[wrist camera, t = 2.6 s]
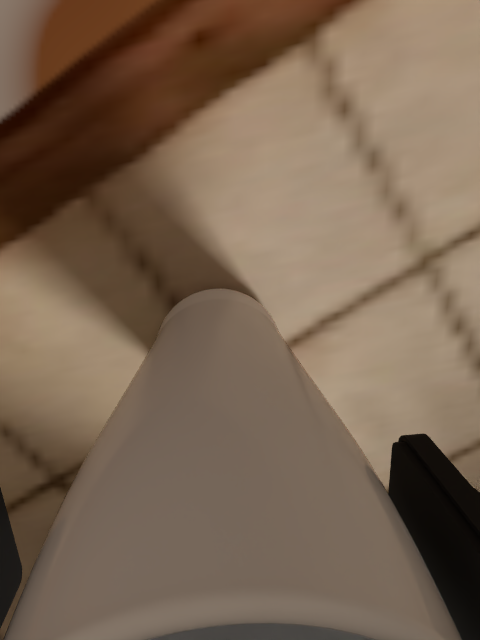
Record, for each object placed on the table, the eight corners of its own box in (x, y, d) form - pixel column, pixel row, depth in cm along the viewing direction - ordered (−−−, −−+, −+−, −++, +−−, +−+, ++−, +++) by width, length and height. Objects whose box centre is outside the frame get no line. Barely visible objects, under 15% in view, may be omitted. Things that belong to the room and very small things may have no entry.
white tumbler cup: (132, 396, 20) (-60, 944, 6) (154, 253, 18) (-62, 565, 4) (273, 418, 21) (406, 942, 7) (310, 284, 19) (614, 632, 5)
